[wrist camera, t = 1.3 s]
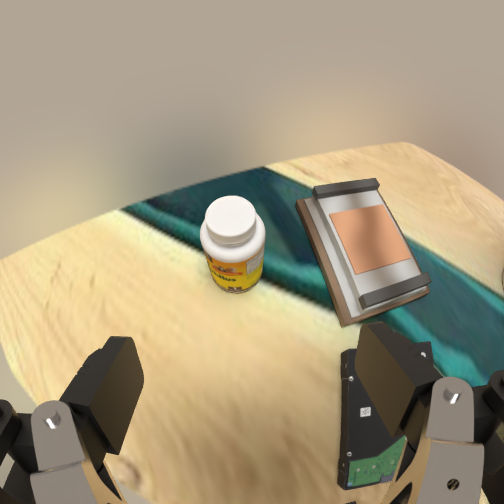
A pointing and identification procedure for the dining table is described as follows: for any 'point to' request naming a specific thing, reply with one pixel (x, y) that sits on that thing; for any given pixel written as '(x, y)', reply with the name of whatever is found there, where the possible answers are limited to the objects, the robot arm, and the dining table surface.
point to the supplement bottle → (233, 243)
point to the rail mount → (360, 250)
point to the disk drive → (366, 431)
